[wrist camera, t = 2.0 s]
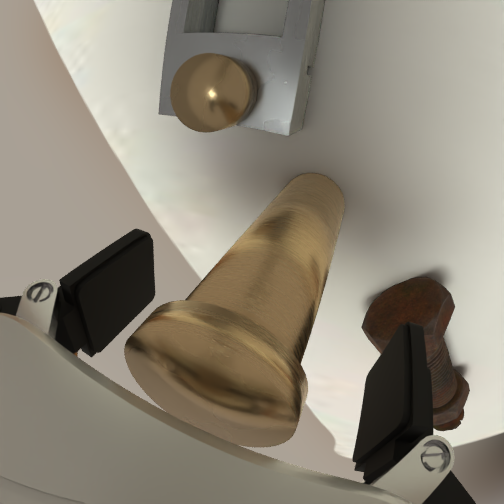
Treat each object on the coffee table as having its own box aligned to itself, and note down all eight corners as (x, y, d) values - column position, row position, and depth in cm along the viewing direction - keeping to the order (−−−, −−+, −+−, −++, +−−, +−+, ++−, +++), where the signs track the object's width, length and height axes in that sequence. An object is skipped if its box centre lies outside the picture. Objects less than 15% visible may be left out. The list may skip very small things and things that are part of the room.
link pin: (283, 157, 16) (109, 297, 5) (360, 179, 15) (325, 389, 4) (270, 225, 18) (138, 400, 8) (339, 247, 17) (273, 461, 7)
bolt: (439, 388, 22) (389, 273, 18) (483, 395, 18) (455, 269, 14) (410, 440, 20) (345, 341, 16) (456, 453, 15) (419, 353, 12)
